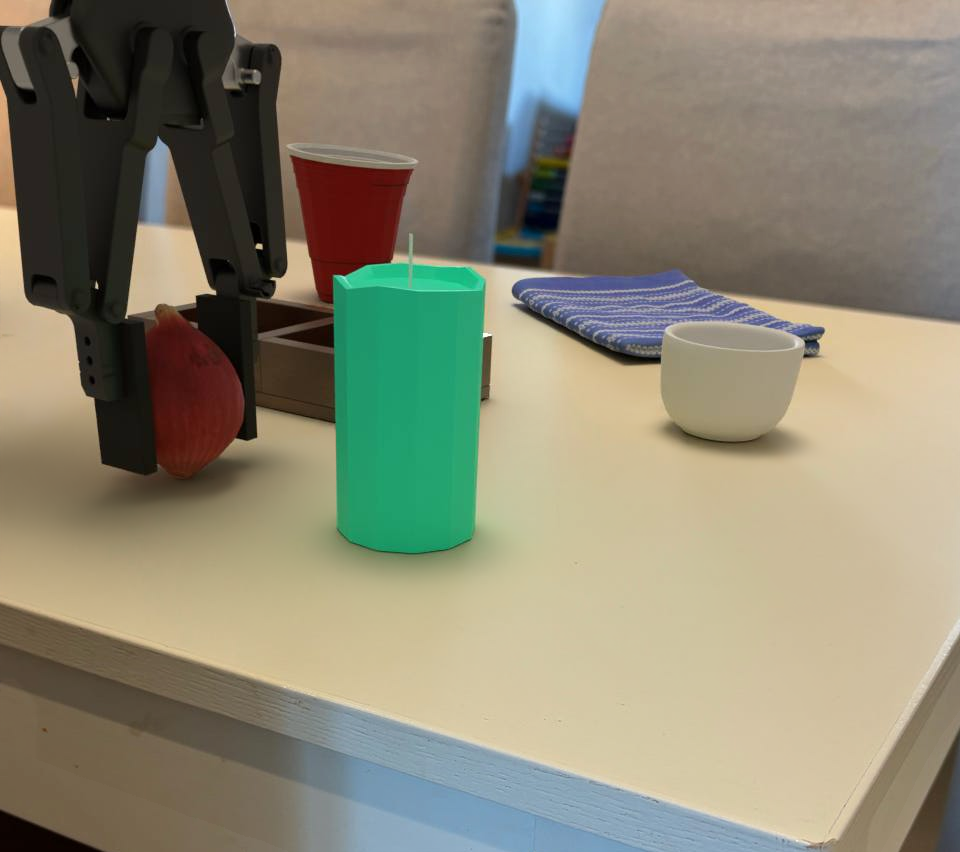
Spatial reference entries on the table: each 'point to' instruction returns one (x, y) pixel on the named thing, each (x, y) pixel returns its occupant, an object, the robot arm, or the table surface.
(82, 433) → the table surface
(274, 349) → the tray
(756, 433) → the teacup
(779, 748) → the table surface
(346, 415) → the candle
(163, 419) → the onion
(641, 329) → the dish towel
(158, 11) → the robot arm
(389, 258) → the plastic cup
